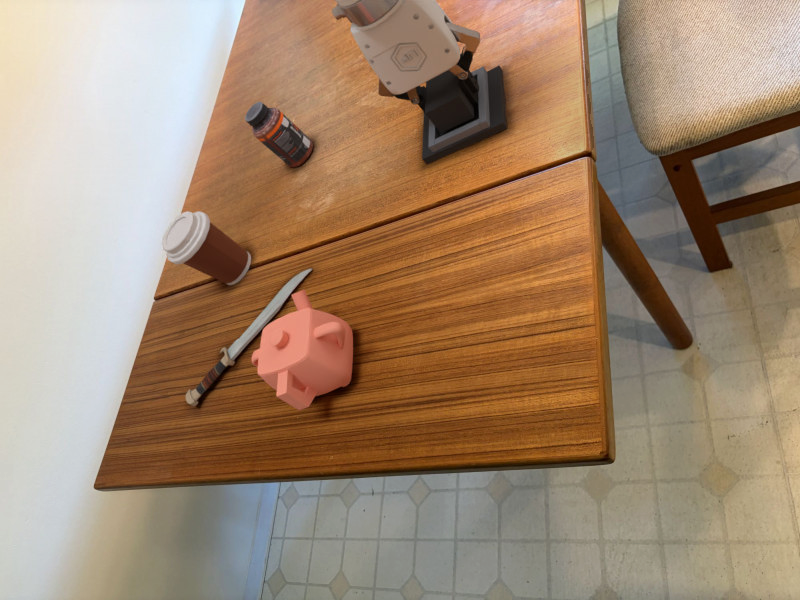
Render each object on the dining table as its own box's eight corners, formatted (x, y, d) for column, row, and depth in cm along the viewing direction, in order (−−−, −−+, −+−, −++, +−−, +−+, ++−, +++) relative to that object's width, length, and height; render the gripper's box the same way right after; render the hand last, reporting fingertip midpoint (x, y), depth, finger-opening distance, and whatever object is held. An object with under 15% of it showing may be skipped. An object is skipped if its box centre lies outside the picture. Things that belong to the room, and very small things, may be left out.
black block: (473, 81, 75) (458, 59, 72) (474, 117, 71) (459, 96, 68) (441, 97, 77) (425, 77, 74) (440, 133, 74) (424, 113, 71)
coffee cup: (216, 266, 97) (156, 230, 89) (253, 234, 95) (195, 194, 86) (220, 302, 91) (156, 268, 83) (260, 270, 88) (198, 230, 80)
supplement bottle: (320, 140, 96) (272, 94, 88) (304, 169, 95) (254, 125, 87) (300, 140, 100) (252, 97, 92) (284, 168, 99) (234, 126, 91)
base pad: (503, 71, 76) (495, 58, 74) (507, 128, 70) (499, 116, 68) (428, 109, 82) (419, 97, 80) (426, 164, 76) (417, 153, 75)
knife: (301, 255, 82) (311, 269, 78) (309, 261, 83) (318, 275, 79) (182, 386, 84) (185, 406, 80) (191, 391, 85) (194, 411, 81)
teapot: (334, 308, 74) (282, 274, 67) (383, 350, 65) (330, 316, 59) (282, 378, 74) (224, 351, 67) (324, 430, 65) (263, 404, 58)
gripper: (312, 52, 64) (402, 151, 77) (440, -30, 55) (517, 97, 68) (320, 13, 68) (404, 113, 80) (441, -70, 59) (514, 57, 72)
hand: (455, 105), depth 74 cm, fingers closed on black block, 4 cm apart
